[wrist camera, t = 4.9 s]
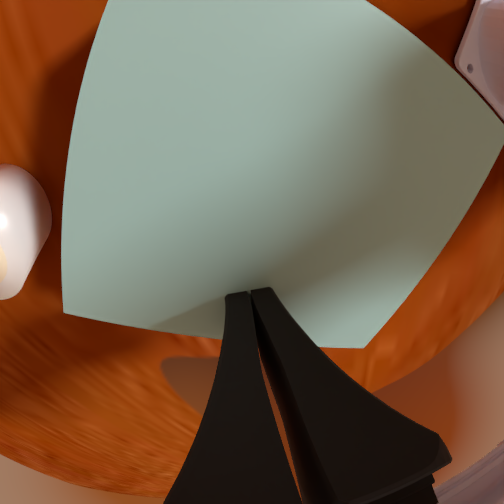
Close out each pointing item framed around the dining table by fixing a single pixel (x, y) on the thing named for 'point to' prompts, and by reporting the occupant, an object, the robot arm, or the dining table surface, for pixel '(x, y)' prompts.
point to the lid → (264, 165)
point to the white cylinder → (20, 226)
